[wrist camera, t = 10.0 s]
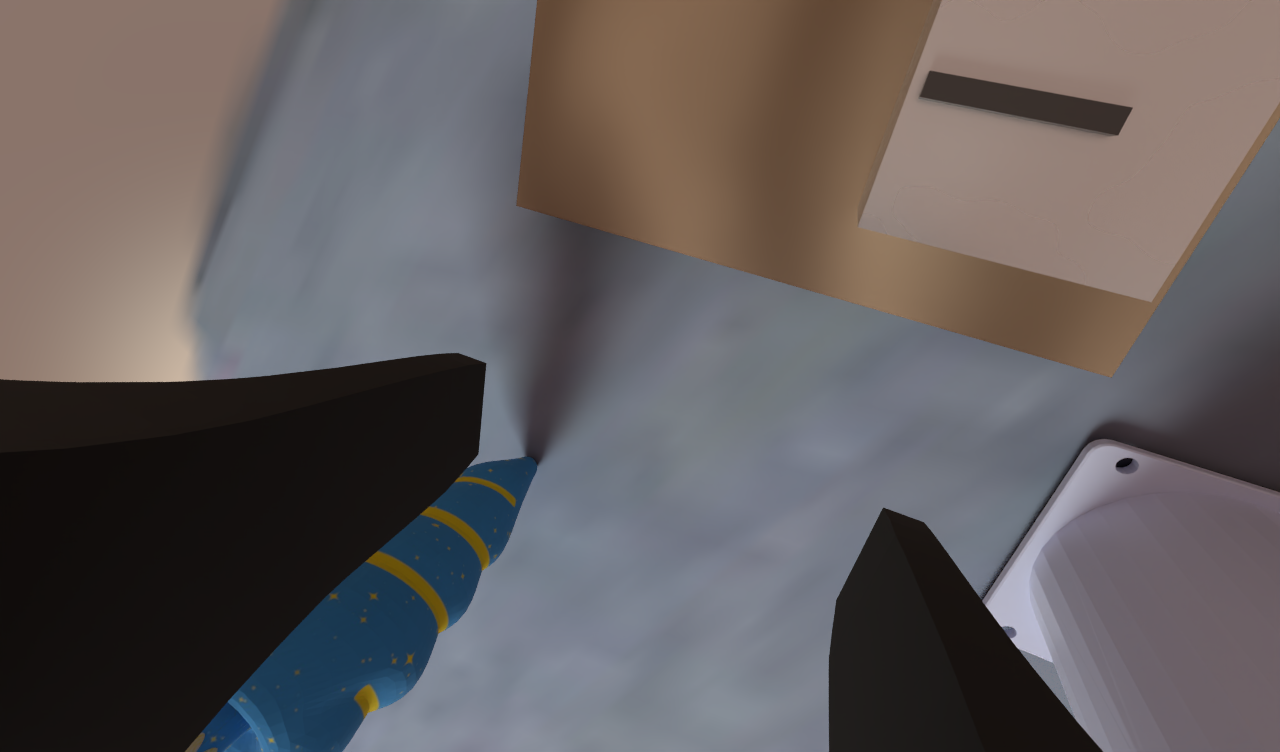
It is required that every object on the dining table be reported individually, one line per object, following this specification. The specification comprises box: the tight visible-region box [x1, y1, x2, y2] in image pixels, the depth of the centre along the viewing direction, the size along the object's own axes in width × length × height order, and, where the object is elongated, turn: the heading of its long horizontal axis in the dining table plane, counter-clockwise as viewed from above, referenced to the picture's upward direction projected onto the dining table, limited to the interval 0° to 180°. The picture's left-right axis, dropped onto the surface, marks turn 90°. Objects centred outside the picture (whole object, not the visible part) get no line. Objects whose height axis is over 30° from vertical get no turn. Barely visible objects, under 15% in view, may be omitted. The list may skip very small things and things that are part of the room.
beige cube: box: [857, 0, 1280, 302], centre depth 11 cm, size 5×5×5 cm
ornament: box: [185, 457, 537, 752], centre depth 18 cm, size 5×5×15 cm
